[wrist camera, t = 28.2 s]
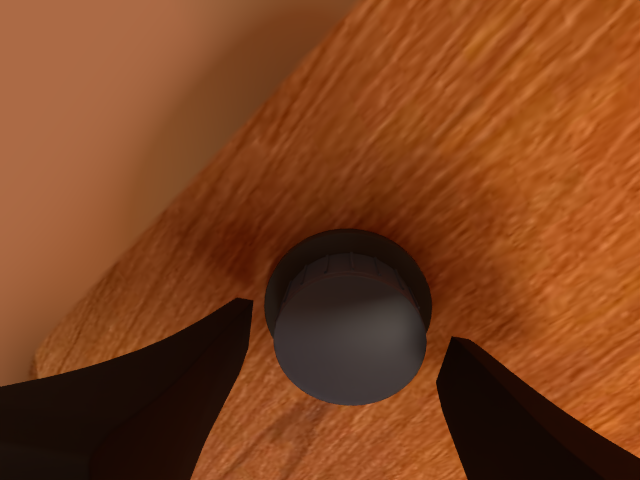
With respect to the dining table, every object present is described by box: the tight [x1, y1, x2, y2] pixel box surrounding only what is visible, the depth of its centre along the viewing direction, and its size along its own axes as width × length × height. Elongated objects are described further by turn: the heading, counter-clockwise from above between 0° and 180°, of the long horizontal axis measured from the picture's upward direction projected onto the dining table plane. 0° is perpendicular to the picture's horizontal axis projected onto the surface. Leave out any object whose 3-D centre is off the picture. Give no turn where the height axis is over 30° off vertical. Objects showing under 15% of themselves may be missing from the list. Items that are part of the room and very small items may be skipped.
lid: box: [274, 252, 427, 406], centre depth 12 cm, size 6×6×2 cm
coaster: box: [264, 229, 432, 339], centre depth 13 cm, size 7×7×1 cm
